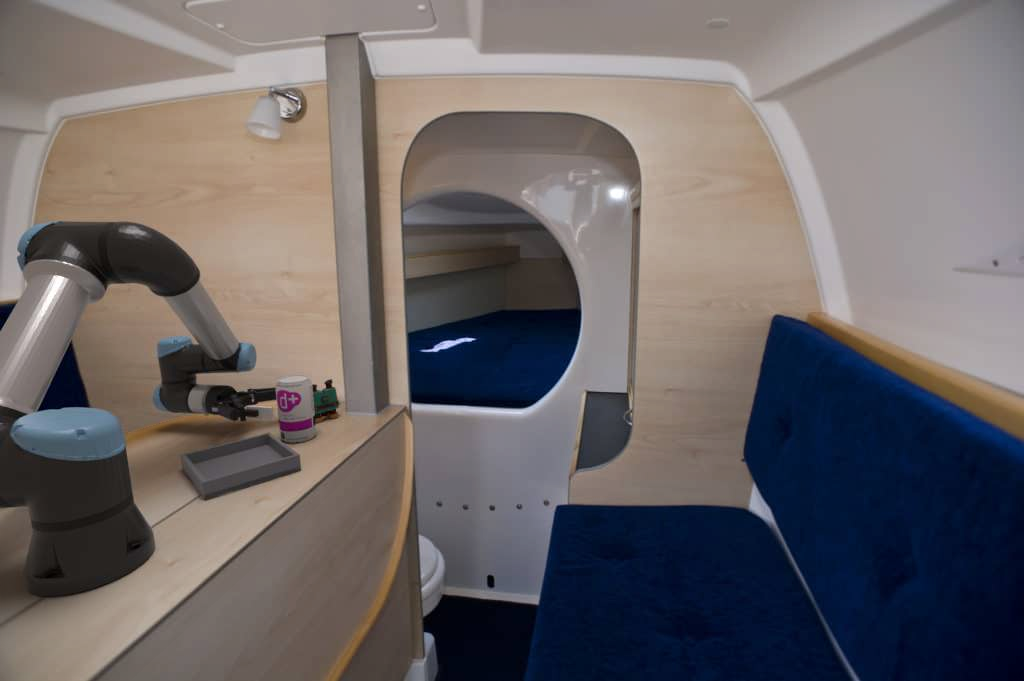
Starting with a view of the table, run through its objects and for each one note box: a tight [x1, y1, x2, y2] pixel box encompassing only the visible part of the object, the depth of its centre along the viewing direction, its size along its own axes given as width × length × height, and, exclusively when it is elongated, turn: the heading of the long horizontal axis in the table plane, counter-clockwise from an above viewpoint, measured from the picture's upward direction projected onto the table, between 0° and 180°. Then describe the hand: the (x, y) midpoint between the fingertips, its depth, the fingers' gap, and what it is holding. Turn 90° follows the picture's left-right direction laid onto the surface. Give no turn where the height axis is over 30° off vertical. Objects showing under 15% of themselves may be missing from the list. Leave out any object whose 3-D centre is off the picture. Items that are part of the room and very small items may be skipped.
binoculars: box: [312, 378, 340, 424], centre depth 140 cm, size 9×11×10 cm
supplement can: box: [275, 374, 317, 444], centre depth 125 cm, size 8×8×15 cm
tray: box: [179, 432, 302, 501], centre depth 108 cm, size 18×18×4 cm
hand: (290, 404), depth 125 cm, fingers open, 13 cm apart
